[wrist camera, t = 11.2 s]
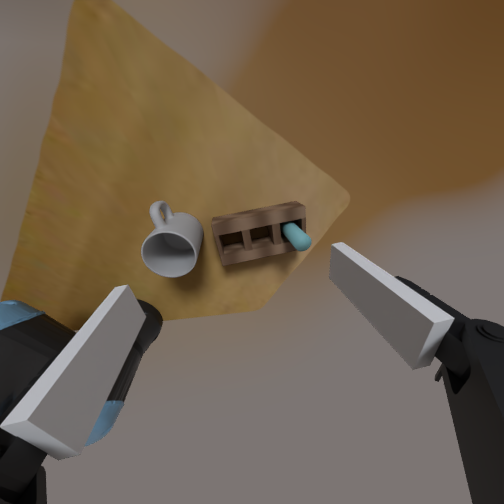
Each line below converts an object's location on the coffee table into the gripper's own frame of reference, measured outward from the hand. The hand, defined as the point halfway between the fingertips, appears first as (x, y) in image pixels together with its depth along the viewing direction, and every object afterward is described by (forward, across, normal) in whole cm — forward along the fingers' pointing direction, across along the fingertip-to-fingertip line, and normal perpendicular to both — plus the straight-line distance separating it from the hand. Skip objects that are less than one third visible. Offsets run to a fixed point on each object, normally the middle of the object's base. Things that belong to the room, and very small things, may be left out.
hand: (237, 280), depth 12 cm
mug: (+29, -11, -3) cm, 31 cm away
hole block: (+28, +6, -8) cm, 30 cm away
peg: (+28, +12, -7) cm, 31 cm away
